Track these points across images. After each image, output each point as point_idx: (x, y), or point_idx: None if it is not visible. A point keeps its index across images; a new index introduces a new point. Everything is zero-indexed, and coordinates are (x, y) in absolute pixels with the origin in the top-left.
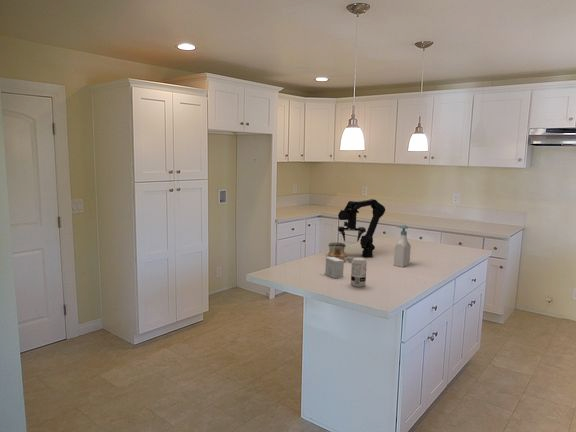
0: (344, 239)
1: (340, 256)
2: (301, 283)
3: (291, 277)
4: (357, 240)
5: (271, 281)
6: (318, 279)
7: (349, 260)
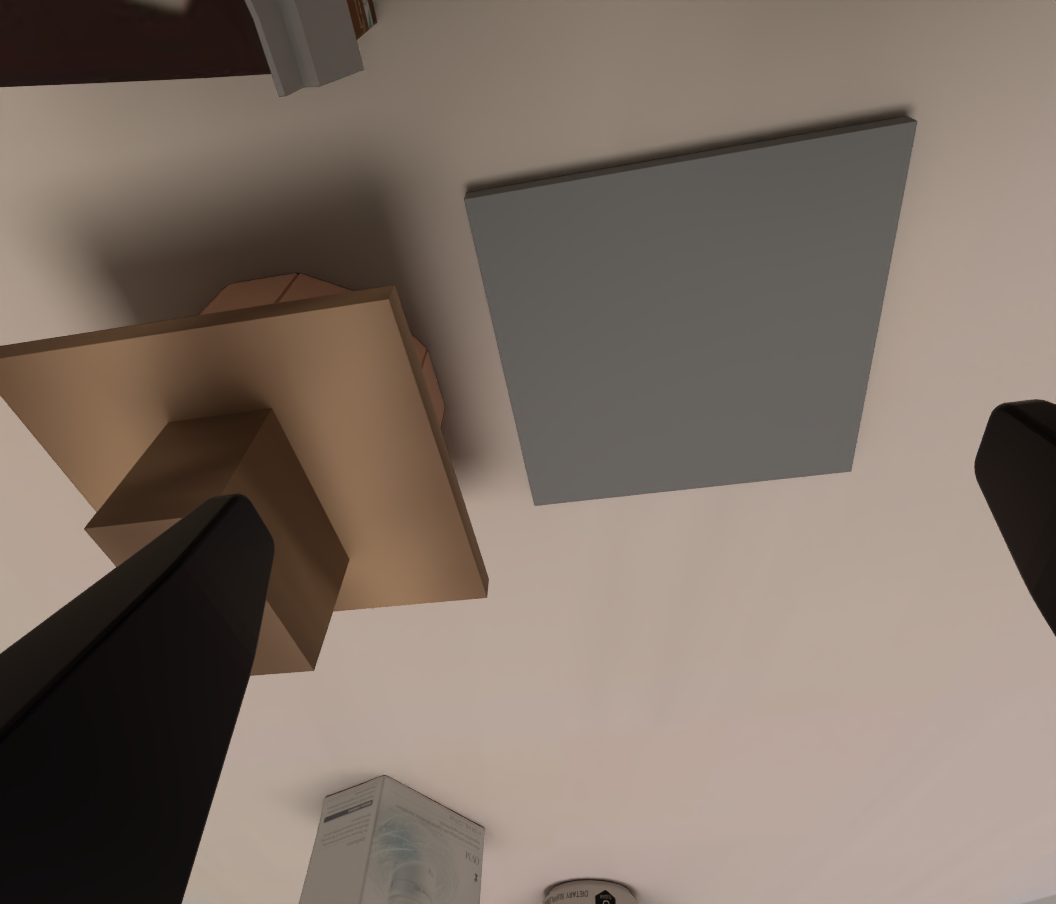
0: (224, 669)
1: (367, 598)
2: (243, 900)
3: None
4: (1012, 520)
5: None
6: None
7: (548, 341)
